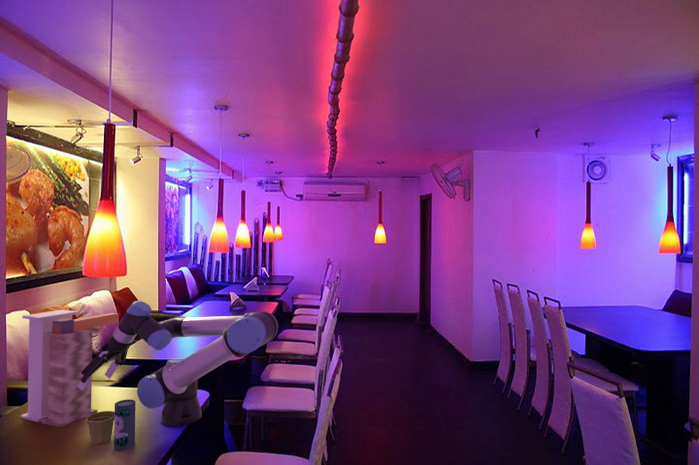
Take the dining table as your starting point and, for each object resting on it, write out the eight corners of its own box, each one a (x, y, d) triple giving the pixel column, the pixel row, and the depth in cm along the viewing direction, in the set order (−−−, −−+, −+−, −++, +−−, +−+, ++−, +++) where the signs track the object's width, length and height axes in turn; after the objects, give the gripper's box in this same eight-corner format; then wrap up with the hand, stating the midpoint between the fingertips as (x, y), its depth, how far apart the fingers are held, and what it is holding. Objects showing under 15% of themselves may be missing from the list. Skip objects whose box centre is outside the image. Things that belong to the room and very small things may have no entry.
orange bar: (110, 321, 197) (110, 310, 198) (119, 322, 196) (119, 311, 196) (52, 333, 173) (52, 320, 173) (61, 334, 171) (61, 321, 171)
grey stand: (60, 404, 191) (61, 309, 192) (76, 407, 188) (78, 311, 188) (20, 417, 177) (22, 315, 177) (37, 422, 173) (39, 317, 173)
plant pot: (102, 448, 152) (103, 422, 152) (78, 445, 154) (79, 420, 154) (122, 436, 161) (122, 412, 162) (99, 433, 163) (99, 409, 163)
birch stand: (80, 408, 187) (81, 326, 187) (97, 412, 183) (98, 328, 183) (41, 422, 172) (42, 333, 172) (58, 427, 168) (60, 336, 169)
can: (110, 447, 153) (111, 403, 153) (128, 441, 158) (129, 398, 158) (120, 452, 149) (121, 407, 149) (137, 445, 154) (138, 402, 154)
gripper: (137, 325, 182) (111, 366, 185) (89, 339, 158) (60, 386, 160) (150, 336, 181) (124, 377, 183) (104, 352, 156) (74, 400, 159)
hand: (94, 382), depth 172 cm, fingers open, 13 cm apart
